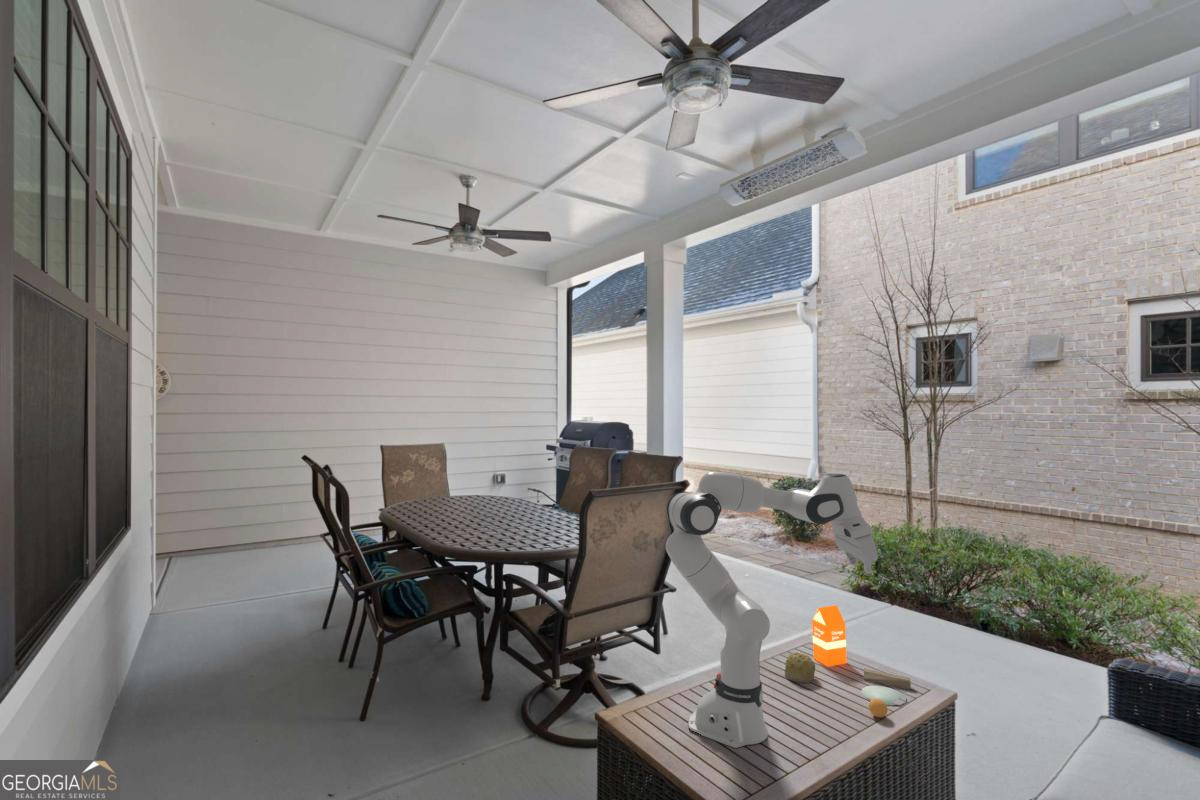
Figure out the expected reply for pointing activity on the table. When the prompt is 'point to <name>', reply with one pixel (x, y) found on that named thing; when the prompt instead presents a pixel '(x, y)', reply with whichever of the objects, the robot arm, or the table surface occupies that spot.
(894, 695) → the disc
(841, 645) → the orange juice
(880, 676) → the bar
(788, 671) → the rock
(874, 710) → the ball
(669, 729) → the table surface
